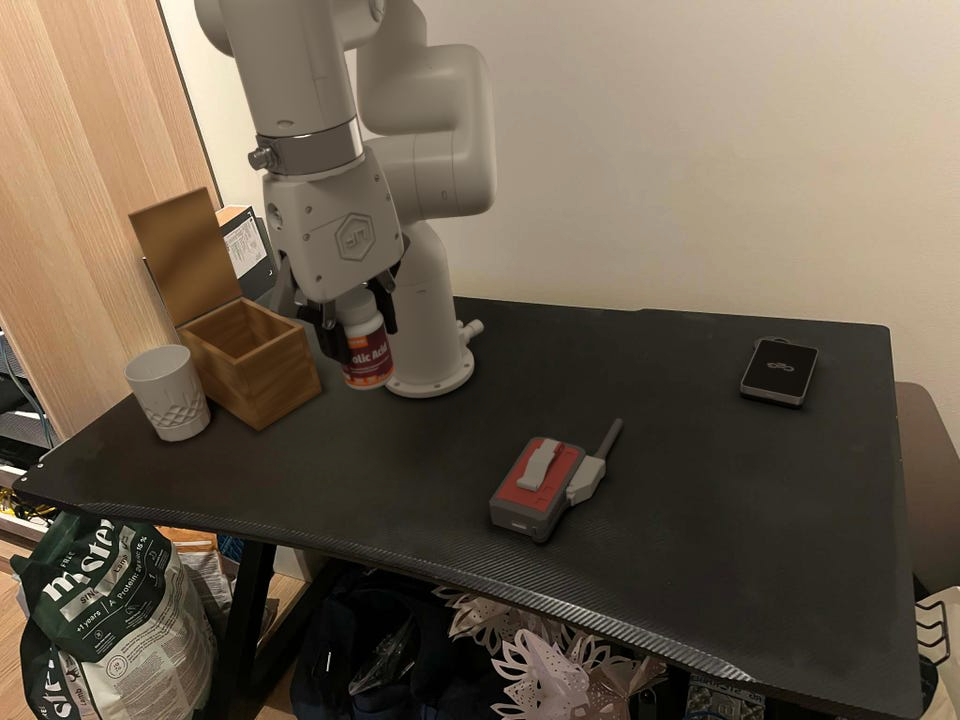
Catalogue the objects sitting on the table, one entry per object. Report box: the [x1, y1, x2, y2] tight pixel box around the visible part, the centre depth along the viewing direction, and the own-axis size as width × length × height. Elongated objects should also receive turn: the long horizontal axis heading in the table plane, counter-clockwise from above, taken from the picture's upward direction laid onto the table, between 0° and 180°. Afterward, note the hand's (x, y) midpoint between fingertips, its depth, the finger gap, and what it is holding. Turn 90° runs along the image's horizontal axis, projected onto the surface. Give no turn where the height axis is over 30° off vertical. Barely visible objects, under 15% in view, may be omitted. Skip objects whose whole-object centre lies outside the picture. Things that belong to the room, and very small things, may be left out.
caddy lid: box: [127, 186, 243, 327], centre depth 92 cm, size 15×10×6 cm
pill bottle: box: [335, 287, 394, 391], centre depth 64 cm, size 5×5×8 cm
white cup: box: [123, 343, 212, 443], centre depth 90 cm, size 8×8×10 cm
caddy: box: [175, 296, 323, 432], centre depth 94 cm, size 15×10×10 cm
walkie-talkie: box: [488, 418, 624, 544], centre depth 75 cm, size 9×4×20 cm
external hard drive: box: [739, 338, 820, 409], centre depth 86 cm, size 7×11×2 cm, turn 150°
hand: (361, 342), depth 64 cm, fingers closed on pill bottle, 4 cm apart
